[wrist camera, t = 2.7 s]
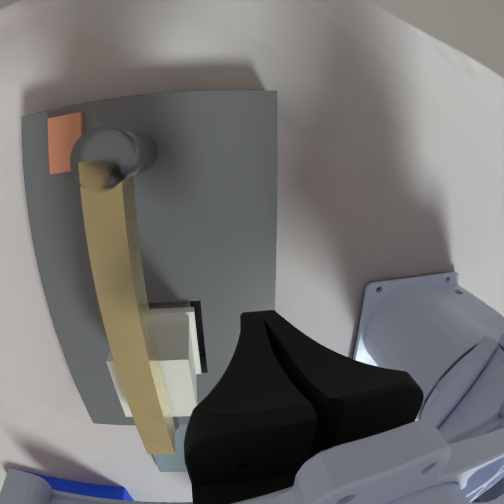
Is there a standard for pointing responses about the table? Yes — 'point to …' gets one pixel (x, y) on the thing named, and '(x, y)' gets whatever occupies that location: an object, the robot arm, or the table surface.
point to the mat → (173, 460)
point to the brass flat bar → (123, 271)
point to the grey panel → (161, 222)
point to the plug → (171, 357)
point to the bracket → (87, 489)
